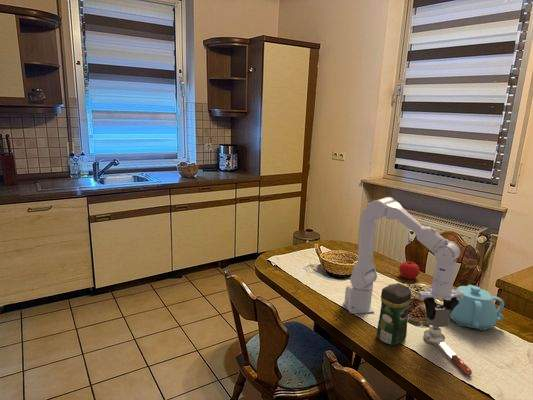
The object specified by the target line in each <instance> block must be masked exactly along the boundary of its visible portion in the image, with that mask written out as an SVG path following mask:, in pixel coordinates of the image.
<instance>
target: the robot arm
mask: <svg viewBox="0 0 533 400" xmlns="http://www.w3.org/2000/svg"><path fill="white" fill-rule="evenodd" d="M384 217H385V219H386V220H387V219H388V220H397V221H398V222H399V223H401V224H402V225H404V226H405V227H406V228H407V229H409V230H410V231H412V232H413V233H414V234H416V240H417V241H419V243H421V245H423V246H424V247H426V248H427V249H428V250H429V251H430V252H431V253H433V255H434V258H435V260H436V261H435V267H434V273H433V280H432V287H431V288H429V289H426V290H422V291H418V294H417V295H418V296H417V298H418V299H420V300H421V301H423V303H424V307H425V315H426V314H427V318H428V319H430V320H432V318H433V314H434V310H435V307H436V306H437V303H436V302H437V301H435V299H439V300H440V299H441V300H442V301H443V302H442V303H443V304H444V305H445V306H447V307H448V308H449V309H450V310H451V311H450V314H451V312H452V310H453V309H454V308H455V307H456V306H457V305H458V304H459V301H458V300H457V298H463V295H464V293H463V292H462V291H460V290H456V289H454V290H452V289H453V286H454V285H453V284H454V279H455V273H456V267H457V259H458V258H459V257H460V255H461V249H460V247H459V245H458V244H457V243H456V242H454V241H450V240H449V239H447V238H445V237H443V236H442V235H441V234H440V233H439V232H437V229H436V228H435V227H431V226H424V225H422V224H421V223H420V222H419V221H418V220H417V219H416V218H414V216H413V215H411V214H410V213H409V212H408V211H407V210H406V209H405V208H404V207H403V206H402V205H401V203H399V202H398V201H397V200H395V199H394V198H393V197H390V196H385V197H383V198H380V199H377V200H376V199H375V200H373V201H370V202H369V203H367V204H366V207H365V209H364V210H363V212H362V213H361V215H360V223H359V234H358V235H359V238H358V251H357V262H356V263H355V265H354V267H353V269H352V273H351V274H350V277H349V278H350V284H351V285H348V286H346V287H345V292H344V301H343V304H344V306H345V308H346V309H347V310H348V311H349V313H350V314H363V313H364V314H366V313H370V314H371V313H375V310H374V309H373V307H372V306H371V305H372V295H373V287H374V282H376V280H377V279H378V275H377V274H378V273H377V271H376V264H375V262H374V252H375V251H374V249H375V235H376V224H377V222H378V221H380V219H382V218H384Z"/></svg>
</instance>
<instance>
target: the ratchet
mask: <svg viewBox="0 0 533 400" xmlns="http://www.w3.org/2000/svg"><path fill="white" fill-rule="evenodd" d="M428 328H429V329H425V330H424V331H423V336H422V337H423V339H424V340H425V342H426V343H428V344H430V345H434V346H436V348H438V350H439V351H440V352H441V353H442V355H444V357H446V358H447V360H448V361H449V362H453V363H455V365H456V366H457V367H458V368H459V369H460V370H461V371H462V372H463V374H465V375H466V376H472V374H473V371H472V369H471V368H470V367H469V366H468V365H467V364H466V363H465V362H464V361H463V360H462V359H461V358H460V357H459V356H458V355H457V354H456V352H455V351H453V350H452V349H451V348H450V346H448V345H447V344H446V342H445V340H446V336H445V335H444V334H443V333H442V328H441V327H433V326H432V325H431V324H430V325H429V327H428Z"/></svg>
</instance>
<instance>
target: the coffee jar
mask: <svg viewBox="0 0 533 400" xmlns="http://www.w3.org/2000/svg"><path fill="white" fill-rule="evenodd" d="M411 300H412V290H411V289H410V287H409V286H407V285H404V284H402V283H400V282H398V283H393V284H390V285H386V286H385V287H383V288H382V289H381V294H380V302H381V304H380V312H379V318H378V321H377V322H378V323H377V328H376V337H377V338H378V339H379V341H381V342H382V343H384V344H386V345H390V346H396V345H398V344H400V343H402V342H403V341H405V340H406V338H407V335H408V334H407V333H408V316H409V308H410V304H411V302H412V301H411Z"/></svg>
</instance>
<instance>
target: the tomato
mask: <svg viewBox="0 0 533 400" xmlns="http://www.w3.org/2000/svg"><path fill="white" fill-rule="evenodd" d="M398 272H399V274H400V275H401V276H402V277H403V278H404V279H408V280H413V279H416V278H417V277H418V276H419V274H420V266H418V264H417V263H416V262H413V261H410V260H407V261H403V262H401V264H400V265H399V267H398Z"/></svg>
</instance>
